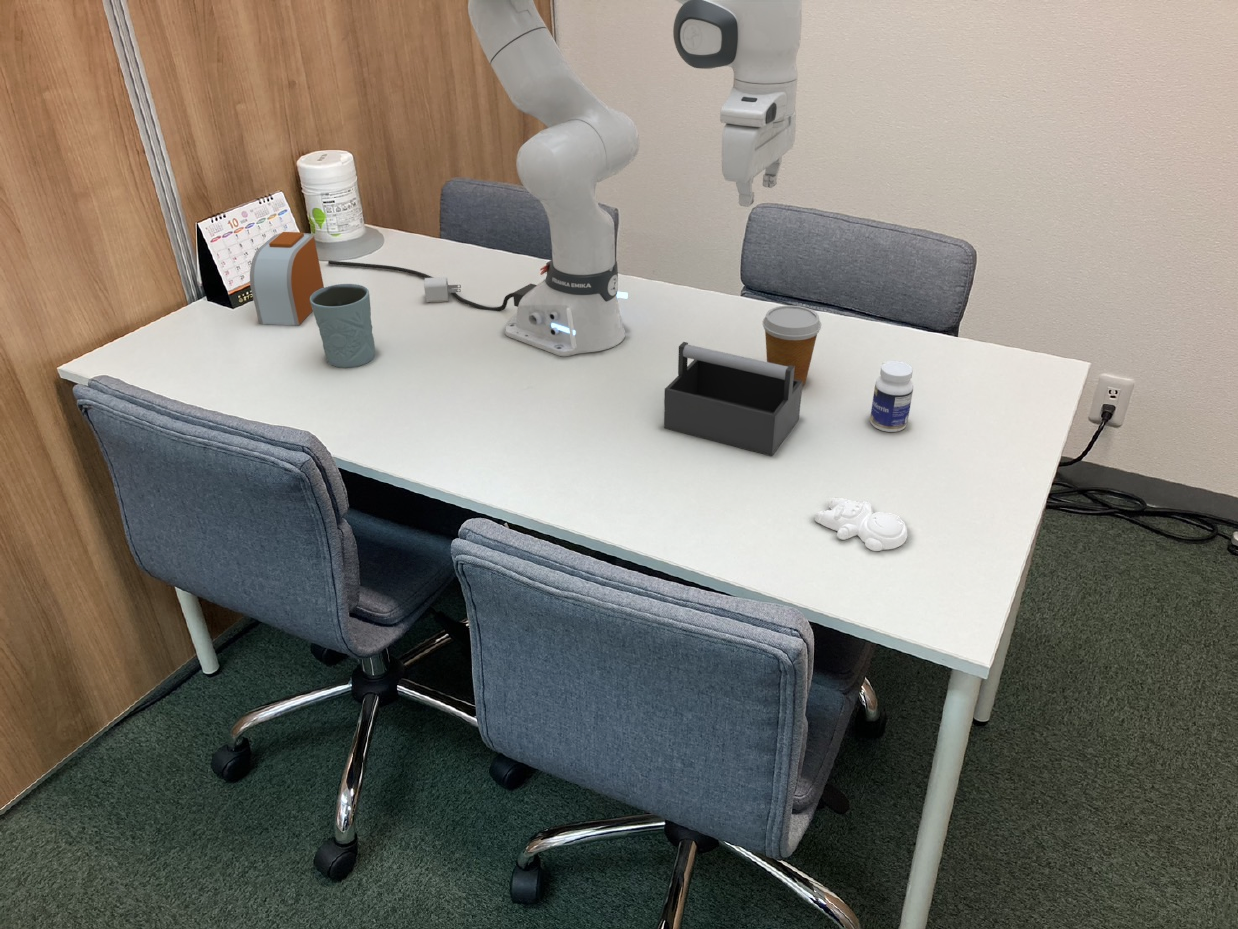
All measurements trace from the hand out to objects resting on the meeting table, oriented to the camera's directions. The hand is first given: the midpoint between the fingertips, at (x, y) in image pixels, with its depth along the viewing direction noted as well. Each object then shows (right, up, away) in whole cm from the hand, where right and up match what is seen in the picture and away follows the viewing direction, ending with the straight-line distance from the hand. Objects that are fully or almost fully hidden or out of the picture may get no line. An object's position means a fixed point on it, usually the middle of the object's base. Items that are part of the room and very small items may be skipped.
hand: (758, 195), depth 147 cm
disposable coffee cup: (+8, -26, +21) cm, 34 cm away
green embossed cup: (-69, -21, +31) cm, 78 cm away
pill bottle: (+22, -34, +9) cm, 41 cm away
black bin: (-3, -34, +10) cm, 35 cm away
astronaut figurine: (+12, -49, -13) cm, 52 cm away
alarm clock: (-85, -9, +49) cm, 98 cm away
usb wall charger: (-56, -7, +52) cm, 76 cm away
